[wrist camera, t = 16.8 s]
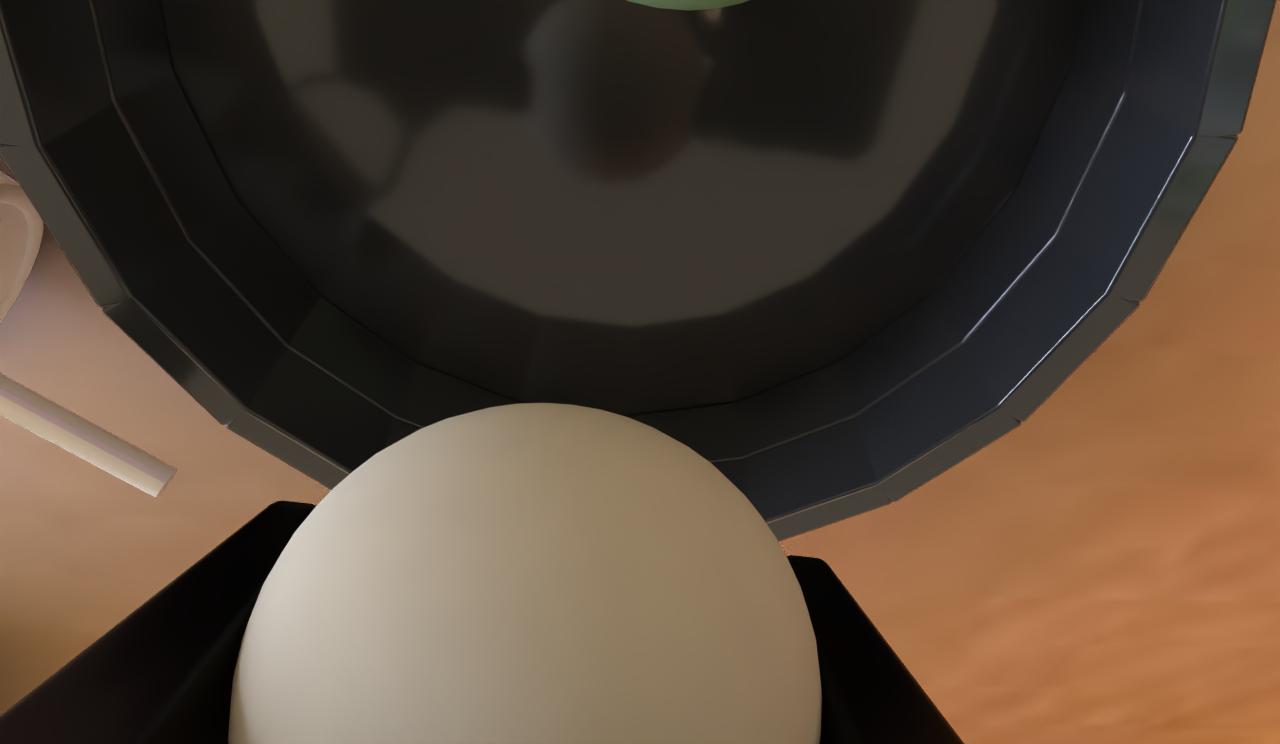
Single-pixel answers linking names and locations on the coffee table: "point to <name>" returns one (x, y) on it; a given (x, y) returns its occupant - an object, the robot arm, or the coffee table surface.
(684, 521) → the cream ball
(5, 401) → the smoothie
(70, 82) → the pan
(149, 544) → the coffee table surface
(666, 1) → the green ball
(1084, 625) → the coffee table surface
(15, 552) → the coffee table surface
